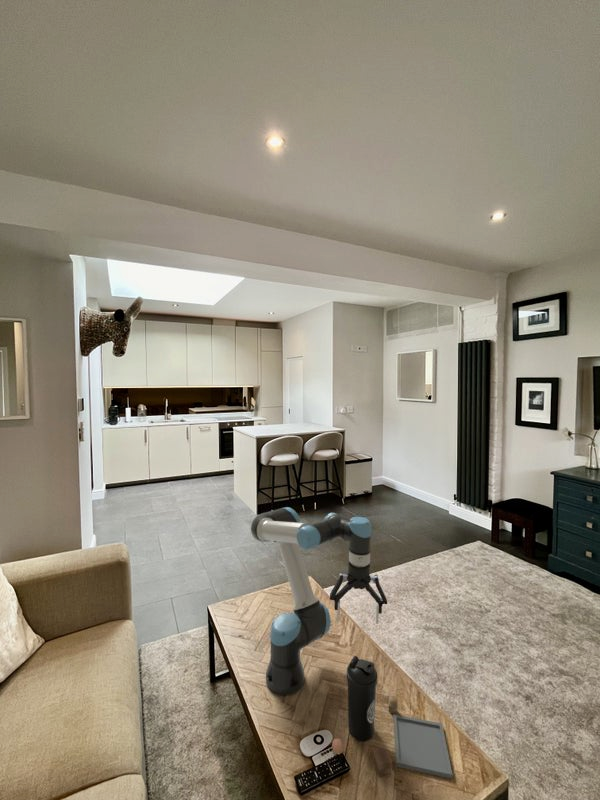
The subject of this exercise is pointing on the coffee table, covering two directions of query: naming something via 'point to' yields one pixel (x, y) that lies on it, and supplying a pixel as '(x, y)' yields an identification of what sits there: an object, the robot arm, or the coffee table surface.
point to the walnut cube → (383, 763)
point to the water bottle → (361, 698)
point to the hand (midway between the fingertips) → (357, 619)
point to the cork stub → (393, 705)
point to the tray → (421, 746)
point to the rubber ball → (337, 746)
